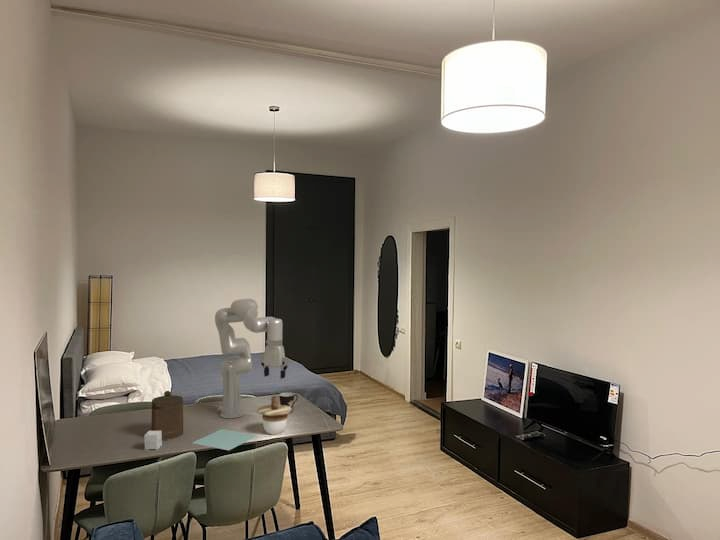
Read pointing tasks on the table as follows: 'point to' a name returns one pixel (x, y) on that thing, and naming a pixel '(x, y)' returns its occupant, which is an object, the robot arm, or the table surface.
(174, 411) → the wooden container
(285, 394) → the coffee mug
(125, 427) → the table surface
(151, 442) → the skincare box
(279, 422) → the lidded bowl
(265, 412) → the maple lid
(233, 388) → the robot arm
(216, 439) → the rubber mat
